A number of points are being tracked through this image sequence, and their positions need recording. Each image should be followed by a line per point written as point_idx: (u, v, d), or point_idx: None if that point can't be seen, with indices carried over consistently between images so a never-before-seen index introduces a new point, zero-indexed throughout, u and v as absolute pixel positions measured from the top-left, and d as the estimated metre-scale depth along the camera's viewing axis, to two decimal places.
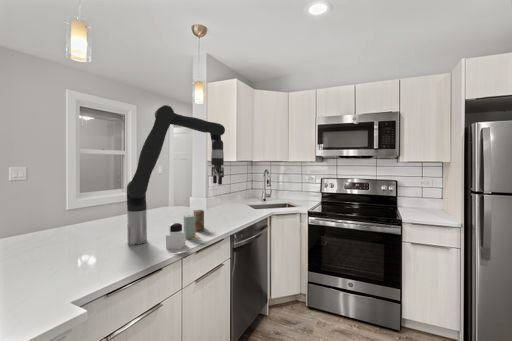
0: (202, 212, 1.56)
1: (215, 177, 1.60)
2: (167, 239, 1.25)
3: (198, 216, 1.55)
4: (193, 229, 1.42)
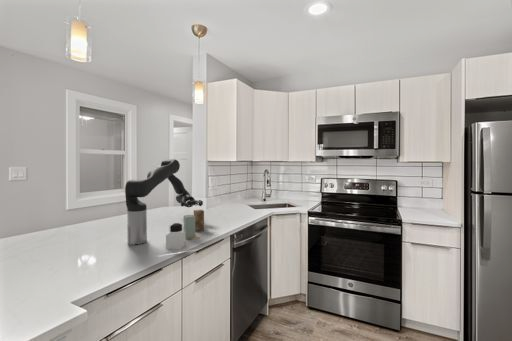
0: (202, 212, 1.56)
1: None
2: (167, 239, 1.25)
3: (198, 216, 1.55)
4: (193, 229, 1.42)
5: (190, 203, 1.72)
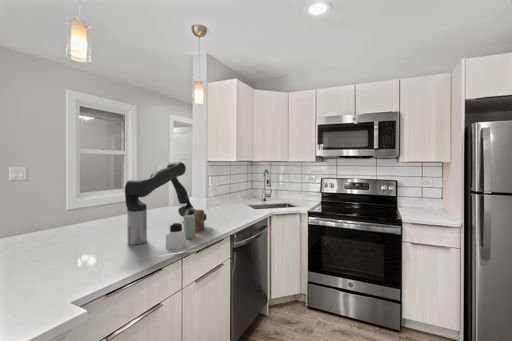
0: (202, 212, 1.56)
1: None
2: (167, 239, 1.25)
3: (198, 216, 1.55)
4: (193, 229, 1.42)
5: None
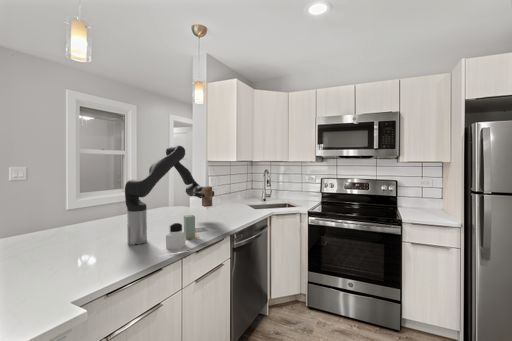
0: (210, 188, 1.59)
1: None
2: (167, 239, 1.25)
3: (207, 192, 1.58)
4: (193, 229, 1.42)
5: None
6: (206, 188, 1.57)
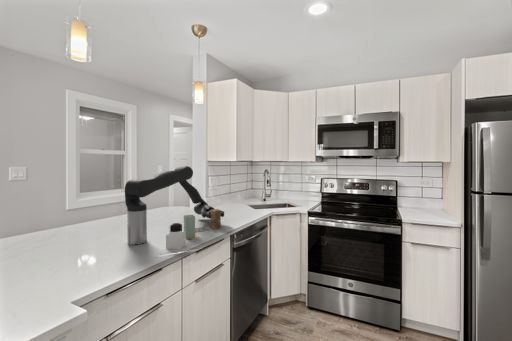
0: (219, 211, 1.62)
1: None
2: (167, 239, 1.25)
3: (215, 216, 1.61)
4: (193, 229, 1.42)
5: None
6: (215, 212, 1.60)
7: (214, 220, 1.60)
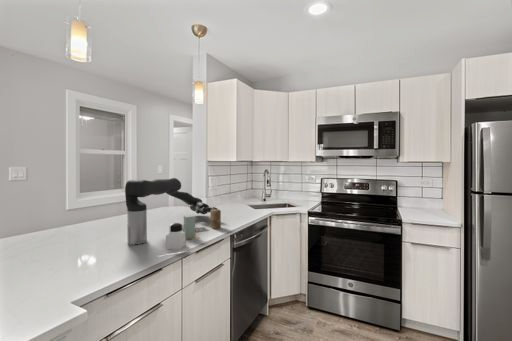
0: (219, 211, 1.62)
1: None
2: (167, 239, 1.25)
3: (215, 216, 1.61)
4: (193, 229, 1.42)
5: (205, 210, 1.78)
6: (215, 212, 1.60)
7: (214, 220, 1.60)
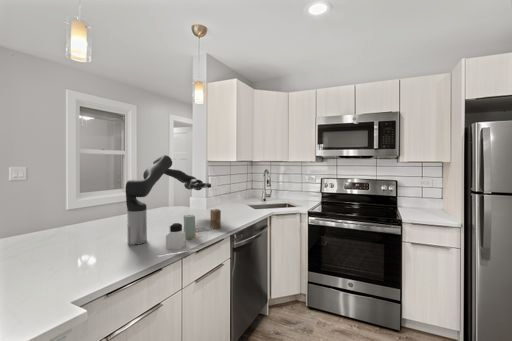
0: (219, 211, 1.62)
1: None
2: (167, 239, 1.25)
3: (215, 216, 1.61)
4: (193, 229, 1.42)
5: (199, 185, 1.76)
6: (215, 212, 1.60)
7: (214, 220, 1.60)
